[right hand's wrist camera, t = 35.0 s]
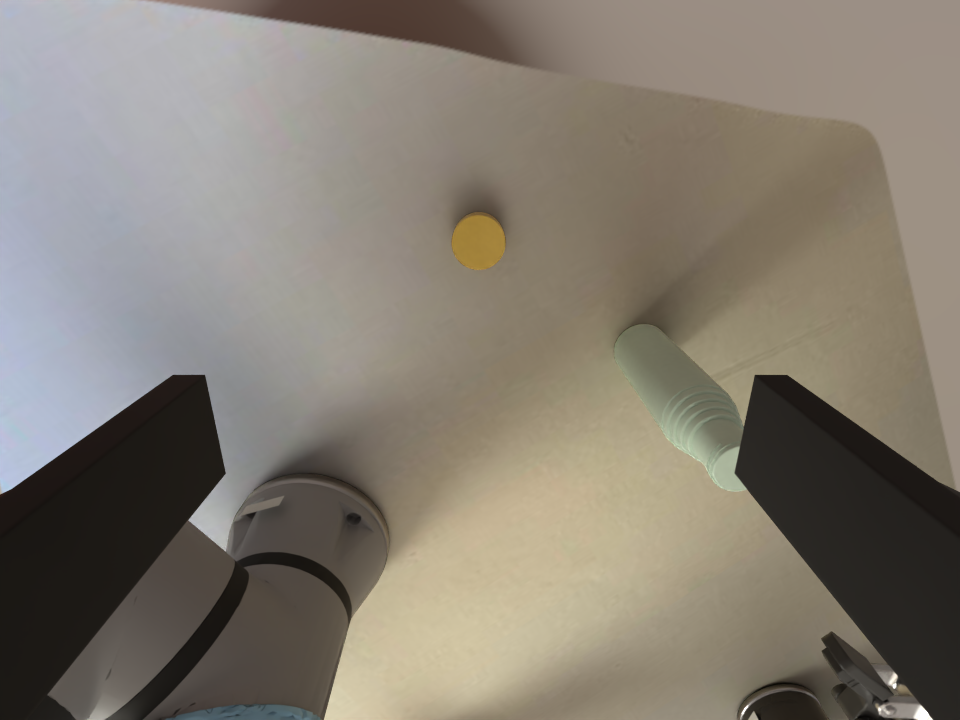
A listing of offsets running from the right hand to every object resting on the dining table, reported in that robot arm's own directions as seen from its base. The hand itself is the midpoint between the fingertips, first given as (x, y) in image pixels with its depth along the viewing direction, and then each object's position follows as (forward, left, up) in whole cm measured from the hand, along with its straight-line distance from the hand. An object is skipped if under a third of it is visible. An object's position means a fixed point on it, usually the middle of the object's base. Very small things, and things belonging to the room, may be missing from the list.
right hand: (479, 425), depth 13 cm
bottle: (-8, -15, -31) cm, 35 cm away
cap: (0, 0, -29) cm, 29 cm away
